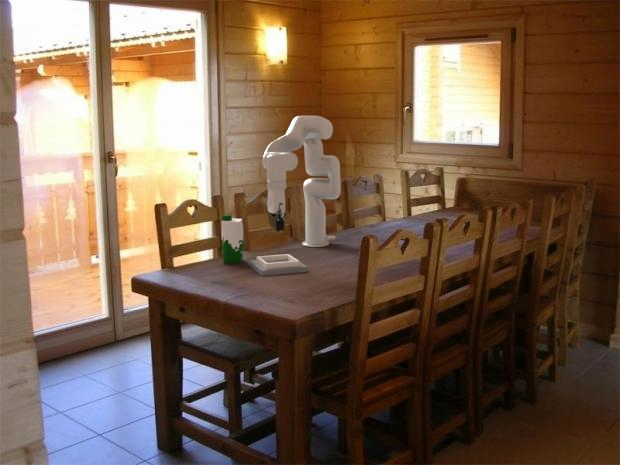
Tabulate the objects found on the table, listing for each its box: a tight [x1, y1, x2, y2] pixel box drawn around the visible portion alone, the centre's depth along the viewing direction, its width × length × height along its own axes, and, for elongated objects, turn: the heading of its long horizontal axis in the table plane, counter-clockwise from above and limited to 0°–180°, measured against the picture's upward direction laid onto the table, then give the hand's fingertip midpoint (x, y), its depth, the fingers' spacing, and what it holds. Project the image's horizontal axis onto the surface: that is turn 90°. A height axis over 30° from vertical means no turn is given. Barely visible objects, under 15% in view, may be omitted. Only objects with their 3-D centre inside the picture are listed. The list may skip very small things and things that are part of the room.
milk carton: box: [221, 213, 244, 264], centre depth 306 cm, size 9×9×20 cm
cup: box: [267, 212, 287, 234], centre depth 292 cm, size 8×7×8 cm
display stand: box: [248, 253, 308, 277], centre depth 295 cm, size 19×19×4 cm
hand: (277, 228), depth 292 cm, fingers closed on cup, 6 cm apart
